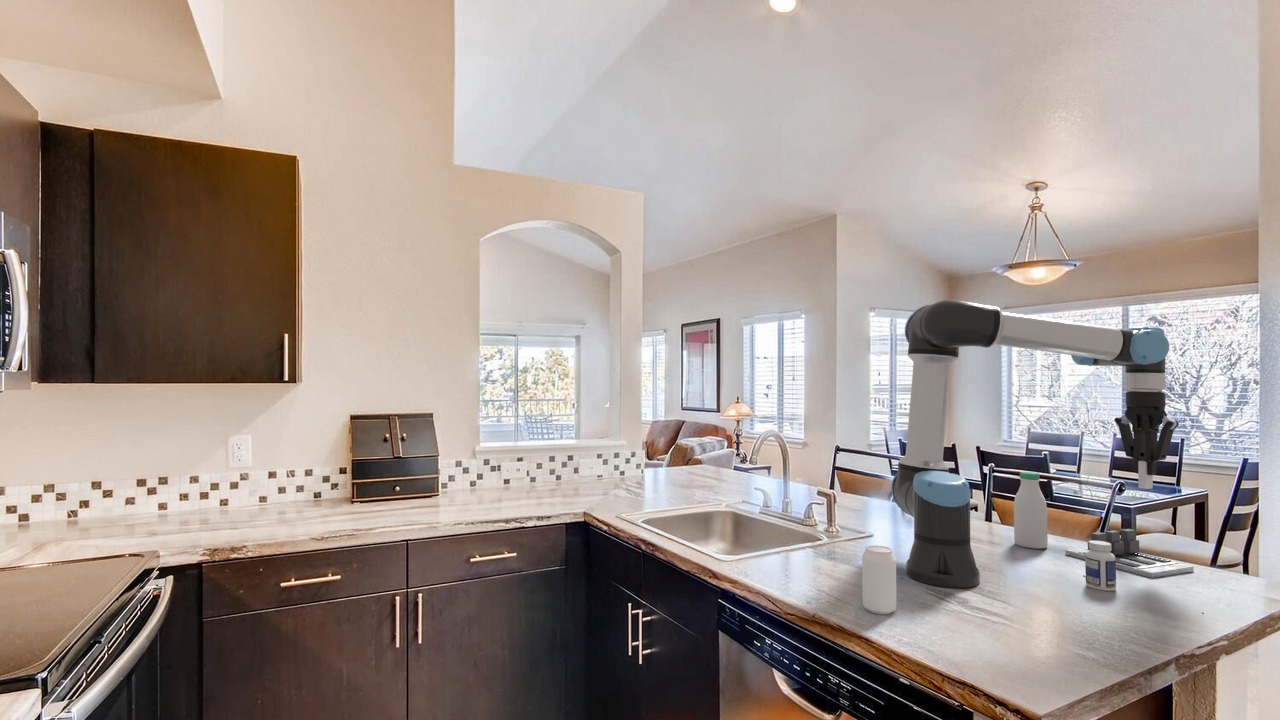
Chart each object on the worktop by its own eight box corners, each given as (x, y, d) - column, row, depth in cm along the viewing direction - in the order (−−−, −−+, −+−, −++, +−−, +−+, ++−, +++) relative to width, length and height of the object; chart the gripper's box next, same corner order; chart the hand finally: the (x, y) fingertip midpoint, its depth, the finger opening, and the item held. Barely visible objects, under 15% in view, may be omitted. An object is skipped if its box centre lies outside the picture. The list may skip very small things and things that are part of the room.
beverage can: (894, 618, 116) (893, 554, 116) (860, 612, 119) (859, 550, 119) (898, 608, 121) (897, 547, 122) (865, 602, 124) (864, 542, 125)
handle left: (1100, 557, 152) (1099, 535, 152) (1087, 554, 154) (1087, 532, 155) (1109, 556, 153) (1109, 534, 153) (1097, 552, 156) (1097, 531, 156)
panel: (1151, 578, 141) (1151, 571, 141) (1065, 554, 159) (1065, 548, 159) (1193, 571, 146) (1193, 565, 146) (1105, 549, 164) (1105, 543, 164)
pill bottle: (1112, 585, 135) (1111, 541, 136) (1119, 593, 131) (1118, 547, 131) (1083, 582, 138) (1082, 538, 138) (1088, 589, 133) (1087, 544, 133)
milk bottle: (1052, 550, 163) (1051, 475, 164) (1021, 548, 165) (1019, 474, 166) (1040, 542, 171) (1038, 471, 172) (1009, 541, 173) (1008, 470, 173)
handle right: (1130, 553, 155) (1129, 531, 155) (1117, 550, 158) (1117, 529, 158) (1139, 552, 156) (1139, 530, 157) (1126, 549, 159) (1126, 528, 159)
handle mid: (1114, 555, 154) (1114, 533, 154) (1102, 551, 156) (1101, 530, 157) (1124, 553, 155) (1123, 532, 155) (1111, 550, 158) (1111, 529, 158)
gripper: (1186, 391, 144) (1187, 492, 144) (1126, 390, 157) (1126, 483, 156) (1165, 391, 142) (1166, 493, 141) (1106, 389, 154) (1106, 484, 153)
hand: (1145, 488), depth 148 cm, fingers closed
